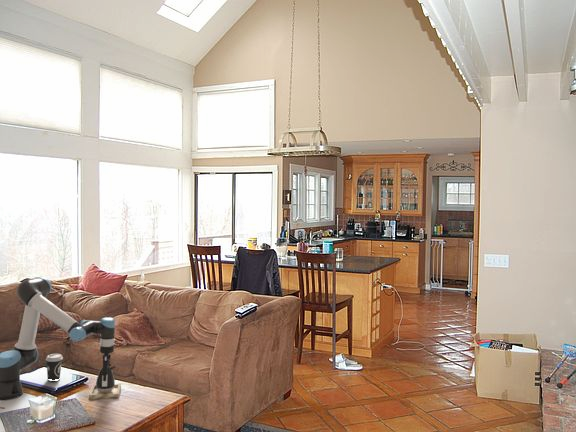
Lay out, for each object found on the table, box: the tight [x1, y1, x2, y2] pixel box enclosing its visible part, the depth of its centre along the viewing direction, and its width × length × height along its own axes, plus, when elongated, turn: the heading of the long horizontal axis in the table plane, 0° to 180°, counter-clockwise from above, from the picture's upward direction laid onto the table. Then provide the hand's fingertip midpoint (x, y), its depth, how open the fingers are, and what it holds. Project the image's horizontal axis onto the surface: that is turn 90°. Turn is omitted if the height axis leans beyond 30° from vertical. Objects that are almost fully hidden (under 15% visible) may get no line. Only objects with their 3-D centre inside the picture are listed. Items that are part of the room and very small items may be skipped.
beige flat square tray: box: [88, 383, 122, 401], centre depth 297 cm, size 16×16×2 cm
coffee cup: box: [45, 353, 64, 380], centre depth 313 cm, size 10×10×15 cm
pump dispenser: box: [95, 365, 116, 393], centre depth 297 cm, size 10×10×15 cm
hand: (105, 381), depth 297 cm, fingers open, 13 cm apart
